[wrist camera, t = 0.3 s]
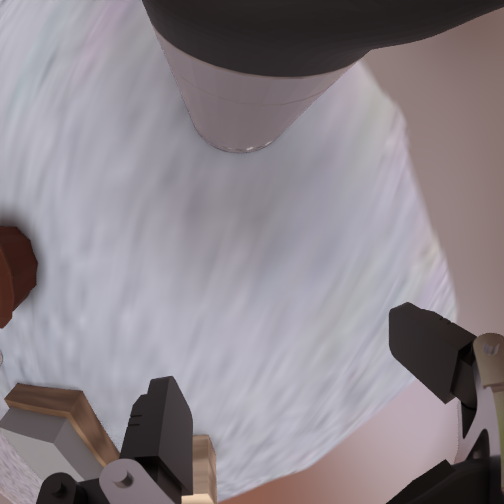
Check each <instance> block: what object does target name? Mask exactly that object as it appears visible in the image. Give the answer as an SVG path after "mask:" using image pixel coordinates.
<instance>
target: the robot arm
mask: <svg viewBox="0 0 504 504" xmlns="http://www.w3.org/2000/svg"><path fill="white" fill-rule="evenodd" d="M142 2H143V4H144V6H145V9H146V11H147V14H148V16H149V18H150V21H151V23H152V25H153V28H154V30H155V33H156V35H157V38H158V40H159V42H160V45H161V47H162V50H163V52H164V54H165V56H166V58H167V61H168V63H169V66H170V68H171V71H172V73H173V75H174V78H175V80H176V83H177V85H178V87H179V90H180V92H181V95H182V97H183V100H184V102H185V104H186V107H187V109H188V112H189V115H190V117H191V119H192V122H193V124H194V126H195V128H196V130H197V131H198V133H199V134H200V135H201V136H202V137H203V138H204V139H205V140H206V141H207V142H208V143H210V144H211V145H213V146H214V147H216V148H219V149H221V150H224V151H227V152H233V153H248V152H252V151H257V150H259V149H261V148H264V147H266V146H267V145H269V144H270V143H272V142H273V141H274V140H275V139H276V138H277V137H278V136H279V135H280V134H281V133H282V132H284V131H285V130H286V129H287V128H288V127H289V126H290V125H291V124H292V123H293V122H294V121H295V120H296V119H297V118H298V117H299V116H300V115H301V114H302V113H303V112H304V111H305V110H306V109H307V108H308V107H309V106H310V105H311V104H312V103H313V102H314V101H315V100H316V99H317V98H318V97H319V96H321V95H322V94H323V93H324V92H325V91H326V90H327V89H328V88H329V87H330V86H331V85H332V84H333V83H334V82H335V81H336V80H337V79H338V78H340V77H341V76H342V75H343V74H344V73H345V72H346V71H347V70H348V69H350V68H351V67H352V66H353V65H354V64H355V63H356V62H357V61H359V60H360V59H361V58H362V57H363V56H364V55H365V54H366V53H368V52H369V51H370V50H372V49H377V48H383V47H389V46H395V45H401V44H406V43H411V42H415V41H419V40H423V39H426V38H429V37H432V36H435V35H437V34H440V33H442V32H445V31H447V30H449V29H452V28H454V27H456V26H459V25H461V24H463V23H465V22H467V21H470V20H472V19H474V18H477V17H479V16H482V15H484V14H487V13H489V12H492V11H494V10H497V9H500V8H502V7H504V0H142ZM389 347H390V351H391V353H392V355H393V356H394V358H395V359H396V360H398V361H399V362H400V363H401V364H402V365H403V366H404V367H405V368H406V369H407V370H409V371H410V372H411V373H412V374H413V375H414V376H415V377H416V378H417V379H419V380H420V381H421V382H422V383H423V384H424V385H425V386H426V387H427V388H428V389H429V390H431V391H432V392H433V393H434V394H435V395H436V396H437V397H438V398H439V399H440V400H441V401H443V403H445V404H446V403H448V402H449V401H451V400H452V399H453V398H455V397H457V398H458V399H459V401H458V404H457V409H458V450H457V454H456V457H455V461H454V464H453V465H450V464H449V462H448V461H447V460H446V459H445V460H444V461H442V462H441V463H439V464H438V465H436V466H435V467H433V468H432V469H430V470H429V471H427V472H426V473H424V474H423V475H421V476H420V477H418V478H416V479H415V480H413V481H412V482H411V483H410V484H409V485H407V487H405V488H404V489H403V490H402V491H401V492H399V493H398V494H397V495H396V496H395V497H393V498H392V499H391V500H390V501H389V502H387V503H386V504H504V336H502V335H500V334H497V333H485V334H482V335H480V336H478V337H477V336H475V335H473V334H472V333H470V332H468V331H467V330H465V329H463V328H462V327H460V326H458V325H456V324H455V323H453V322H452V323H451V321H449V320H448V319H446V318H443V317H442V316H441V315H439V314H437V313H435V312H433V311H429V310H425V309H420V308H419V307H417V306H415V305H413V304H412V303H410V302H406V303H404V304H402V305H399V306H397V307H395V308H393V309H391V310H390V312H389ZM130 417H131V418H129V422H128V427H127V429H126V433H125V437H124V441H123V445H122V449H121V453H120V457H119V460H115V461H113V462H111V463H109V464H108V465H107V466H106V467H105V468H104V469H103V470H102V472H101V474H100V478H96V479H91V480H86V481H81V482H77V481H76V480H75V479H74V478H73V477H72V476H71V475H69V474H67V473H64V472H57V473H54V474H51V475H50V476H48V477H47V478H46V479H45V480H44V482H43V483H42V486H41V489H40V492H39V495H38V499H37V502H36V504H182V496H191V495H193V419H192V414H191V411H190V408H189V406H188V404H187V402H186V400H185V398H184V396H183V394H182V392H181V390H180V388H179V386H178V384H177V382H176V380H175V379H174V377H173V376H167V377H162V378H156V379H152V380H151V381H150V384H149V388H148V392H147V394H144V395H141V396H140V397H139V398H138V400H137V401H136V402H135V403H134V405H133V407H132V411H131V415H130Z"/></svg>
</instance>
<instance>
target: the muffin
mask: <svg viewBox="0 0 504 504" xmlns="http://www.w3.org/2000/svg"><path fill="white" fill-rule="evenodd" d="M37 265H38V262H37V260H36V258H35V255H34V253H33V250H32V246H31V242H30V240H29V239H28V238H27V237H26V236H24V235H23V234H22V233H21V232H20V230H19V229H18V228H17V227H5V226H0V328H4V327H5V326H6V324H7V323H8V322H9V321H10V320H11V319H12V312H13V311H14V310H15V309H16V308H17V307H18V306H19V305H20V304H21V303H22V302H23V301H24V300H25V299H26V297H27V296H28V294H29V293H30V291H31V290H32V289H33V288H34V287H35V286H36V272H37Z"/></svg>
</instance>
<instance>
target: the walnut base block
mask: <svg viewBox="0 0 504 504" xmlns="http://www.w3.org/2000/svg"><path fill="white" fill-rule="evenodd" d="M4 400H5V401H6V403H7V405H8V406H9V408H11V407H15V408H19V409H23V410H27V411H32V412H37V413H42V414H48V415H53V416H59V417H66V418H68V419H69V421H70V423H71V424H72V426H73V427H74V429H75V430H76V432H77V433H78V434H79V436H80V437H81V439H82V440H83V442H84V443H85V444H86V446H87V447H88V448H89V450H90V451H91V452H92V454H93V455H94V456H95V458H96V459H97V460H98V461H99V463H100V464H101V465H102V466H103V467H104V468H105V467H106V466H107V465H108V464H109V463H111V462H113V461H115V460H119V457H120V452H119V451H118V450H117V448H116V447H115V445H114V444H113V442H112V441H111V439H110V438H109V436H108V434H107V433H106V431H105V430H104V428H103V427H102V425H101V423H100V422H99V420H98V418H97V417H96V415H95V413H94V411H93V410H92V408H91V406H90V404H89V402H88V400H87V399H86V397H85V395H84V393H83V391H78V390H65V389H55V388H47V387H39V386H32V385H25V384H19V383H17V385H16V386H15V387H14V388H13V389H12V390H11V392H10V393H9V394H8V395H7V396H6V397H5V399H4Z"/></svg>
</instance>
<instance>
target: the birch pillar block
mask: <svg viewBox="0 0 504 504" xmlns="http://www.w3.org/2000/svg"><path fill="white" fill-rule="evenodd" d="M182 504H217V484H216V454H215V451H214V448H213V446H212V443H211V441H210V438H209V436H208V435H194V436H193V495H191V496H182Z"/></svg>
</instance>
